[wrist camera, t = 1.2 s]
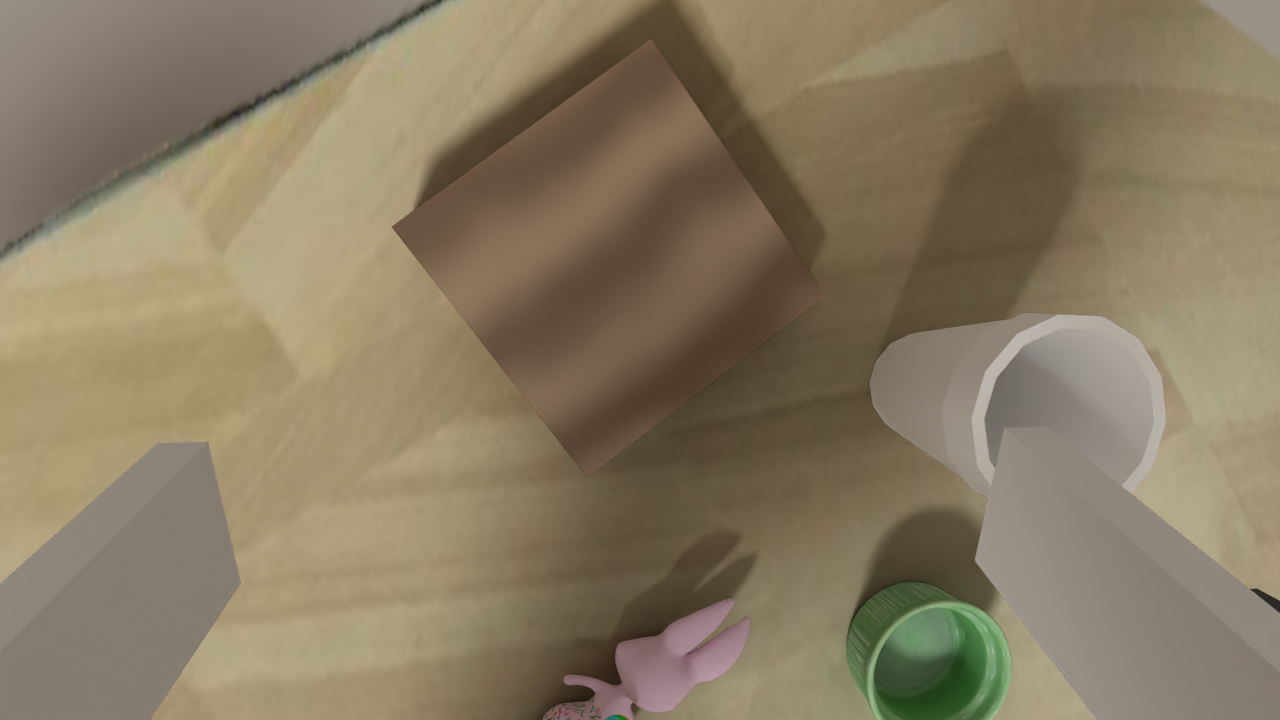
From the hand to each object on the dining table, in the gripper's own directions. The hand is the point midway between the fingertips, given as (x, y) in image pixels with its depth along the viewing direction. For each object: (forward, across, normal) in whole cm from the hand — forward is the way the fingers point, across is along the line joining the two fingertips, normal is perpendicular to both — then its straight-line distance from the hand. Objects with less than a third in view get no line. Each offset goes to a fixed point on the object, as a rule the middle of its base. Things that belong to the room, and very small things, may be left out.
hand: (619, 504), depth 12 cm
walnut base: (+30, -1, +4) cm, 30 cm away
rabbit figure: (+24, -2, +27) cm, 36 cm away
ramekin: (+25, -19, +27) cm, 42 cm away
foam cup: (+30, -20, +11) cm, 37 cm away
